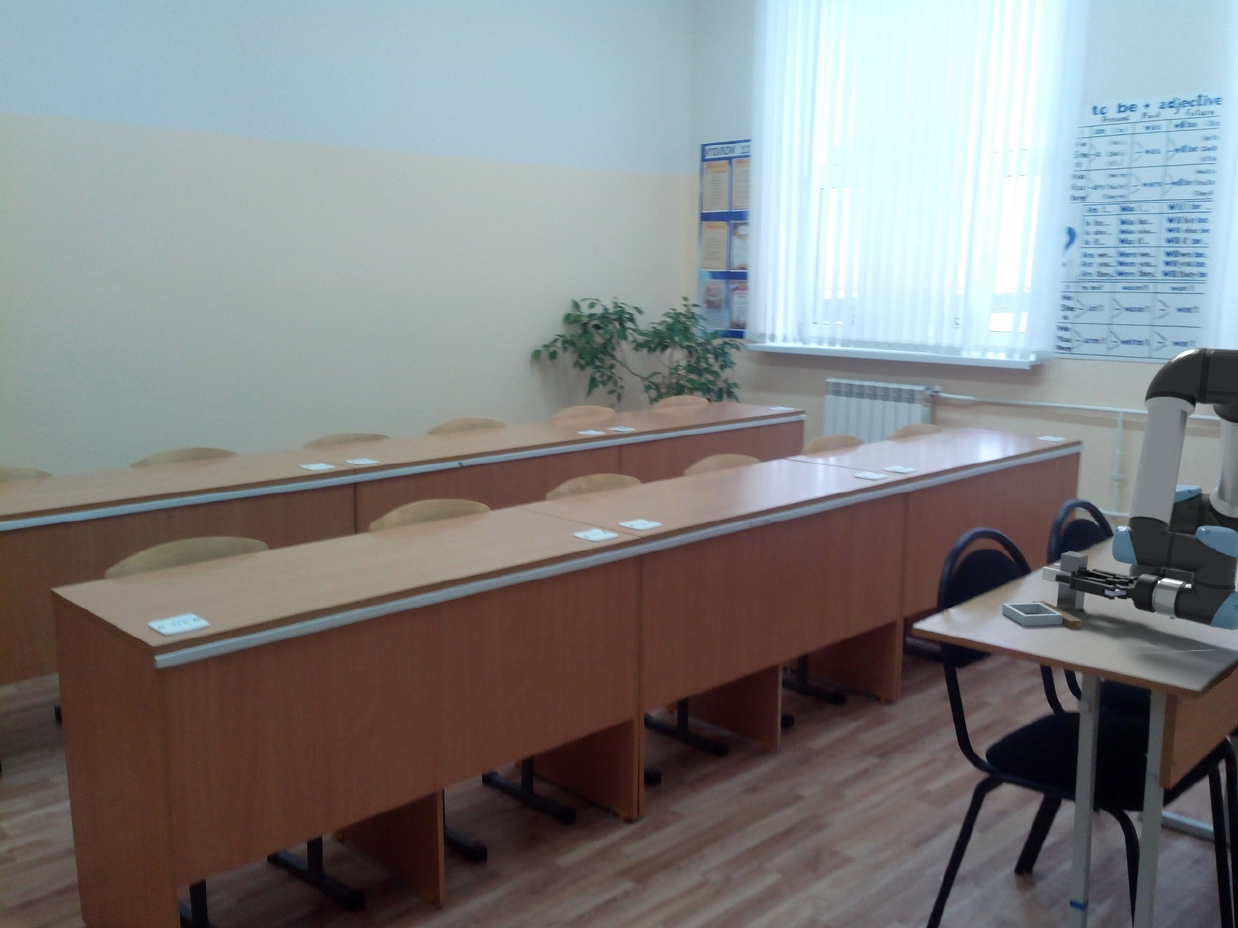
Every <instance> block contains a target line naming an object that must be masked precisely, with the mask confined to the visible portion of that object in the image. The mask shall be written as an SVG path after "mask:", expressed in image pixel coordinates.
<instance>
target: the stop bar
mask: <svg viewBox="0 0 1238 928" xmlns="http://www.w3.org/2000/svg"><path fill="white" fill-rule="evenodd" d="M1088 560H1089V554H1087V553H1082V552H1077V551H1071V550H1070V551H1069V550H1068V551H1067V552H1063V553H1060V570H1062V571H1066V572H1072V571H1075V575H1078V576H1084V577H1086V574H1087V569H1088ZM1057 589H1058V590H1057V601H1056V607H1057V608H1058V609H1060V610H1066V611H1069V612H1073V613H1075V612H1078V611H1080V610H1082V609H1084V603H1085V595H1086V593H1085V592H1081V591H1077V590H1072V589H1069V585H1065V584H1060V583H1058V588H1057Z"/></svg>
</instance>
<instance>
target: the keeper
mask: <svg viewBox="0 0 1238 928" xmlns="http://www.w3.org/2000/svg"><path fill="white" fill-rule="evenodd" d="M1001 611H1002V612H1001V613H1002V615H1005V616H1006V617H1009V618H1010V619H1012V620H1014V621H1015V622H1017V623H1018V624H1020V625H1022V626H1025V627H1026V626H1046V625H1047V626H1051V625H1063V624H1062V621H1063V614H1061V613H1059V612H1057V611H1055V610H1053V609H1051V608H1049V607H1047V606H1045V605H1044V604H1042V603H1033V602H1021V603H1020V602H1019V603H1017V602H1016V603H1002V608H1001Z"/></svg>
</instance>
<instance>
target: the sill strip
mask: <svg viewBox="0 0 1238 928" xmlns="http://www.w3.org/2000/svg"><path fill="white" fill-rule="evenodd" d="M1032 603H1042V604H1044V605H1045V606H1047V607H1049V608H1051V609H1053V610H1055V611H1057V612H1059V613H1061V614H1063V621H1062V624H1061V625H1064V626H1066V627H1067V628H1068V629H1080V628H1082V623H1083V620H1081V619H1079V618H1078V617H1076V616H1073V615H1072V614H1070V613H1068V612H1067V611H1064V610H1063V609H1061V608H1057V606H1054V605H1053V604H1050V603H1048V602H1047V601H1045V600H1033V601H1032Z"/></svg>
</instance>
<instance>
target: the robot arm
mask: <svg viewBox="0 0 1238 928" xmlns="http://www.w3.org/2000/svg"><path fill="white" fill-rule="evenodd" d="M1143 403H1144V404H1143V407H1144V409H1145V410H1146V412H1147V417H1146V422H1145V428H1144V433H1143V434H1144V435H1143V438H1142V443H1141V444H1142V445H1141V450H1140V455H1139V461H1138V467H1137V472H1136V478H1135V483H1134V487H1133V488H1134V490H1133V495H1132V500H1131V506H1130V511H1129V515H1128V516H1129V517H1128V521H1127V525H1126V524H1125V525H1118V526H1117V527H1116V528H1115V530H1114V533H1113V538H1112V546H1111V553H1112V555H1111V556H1112V557H1113V559H1114V560H1115V561H1116V562H1119V563H1123V564H1127V565H1130V567H1129V570H1128V571H1129V572H1128V573H1129V574H1127V575H1126V574H1123V573H1118V572H1112V571H1107V570H1102V569H1097V568H1092V569H1088V568H1087V574H1086V577H1084V576H1078V575H1075V571H1072V572H1066V571H1062V570H1060V564H1061V563H1060V564H1059V563H1053V565H1052V567H1047V566H1044V567H1042V578H1041V579H1042V580H1043V581H1047V582H1050V583H1051V582H1052V583H1057V584H1059V583H1060V584H1065V585H1069V589H1072V590H1077V591H1081V592H1085V594H1090V595H1095V596H1099V597H1103V598H1105V599H1108V600H1111V601H1113V600H1115V598H1117V599H1120V600H1128V599H1131V600H1132V603H1133V606H1134V607H1135V609H1137V610H1139V611H1142V612H1143V611H1144V612H1148V613H1152V614H1154V613H1157V614H1159V615H1162V616H1168V617H1169V620H1175V619H1179V620H1183V621H1184V620H1185V621H1188V622H1193V623H1197V624H1199V625H1200V624H1201V625H1203V626H1209V627H1211V628H1219V629H1222V630H1223V629H1224V630H1229V631H1236V630H1238V591H1236V588H1237V587H1236V580H1237V574H1238V573H1237V572H1238V349H1229V348H1208V347H1197V348H1191V349H1188V350H1185V351H1182V352H1180V353H1178V354H1176V355H1175V356H1173V358H1171V359H1169V360H1168V361H1167V362H1166V363H1165V364H1163V366H1162V367H1161V368H1160V369H1159V370H1158V371H1157V372H1156V374H1155V375H1154V376H1153V379H1151V381H1150V383H1149V385H1148V388H1147V391H1146V393H1145V398H1144V402H1143ZM1197 404H1199V405H1212V408H1213V413H1214V414H1215V415H1216V416H1217V417H1218V418H1219V419H1220V425H1219V426H1220V428H1219V431H1220V432H1219V447H1218V449H1219V451H1218V474H1217V475H1218V477H1217V486H1215V487H1214V488H1213V489H1212V491H1211V493H1203V490H1202V487H1201V486H1199V485H1192V484H1178V480H1179V479H1178V478H1179V473H1180V468H1181V461H1182V456H1183V449H1184V444H1185V438H1186V433H1187V431H1186V430H1187V427H1188V420H1189V417H1190V416H1192V415H1193V414H1194V413H1195V411H1196V406H1197Z"/></svg>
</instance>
